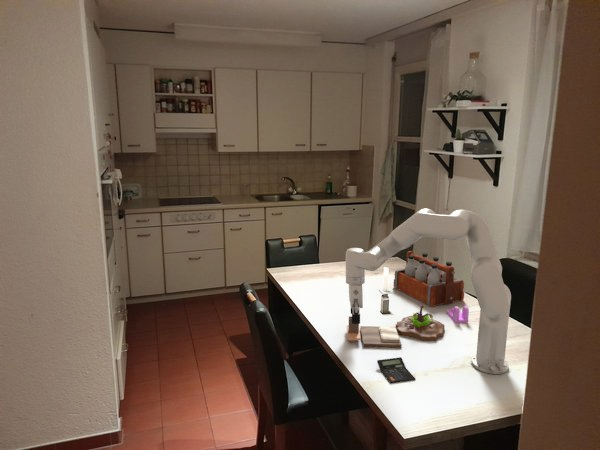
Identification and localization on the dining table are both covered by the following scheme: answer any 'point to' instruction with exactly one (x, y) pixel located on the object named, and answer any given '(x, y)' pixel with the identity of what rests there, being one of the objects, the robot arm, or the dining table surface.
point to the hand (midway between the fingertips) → (355, 318)
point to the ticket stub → (353, 330)
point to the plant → (420, 327)
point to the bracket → (459, 314)
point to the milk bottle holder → (429, 281)
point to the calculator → (395, 370)
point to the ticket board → (380, 337)
